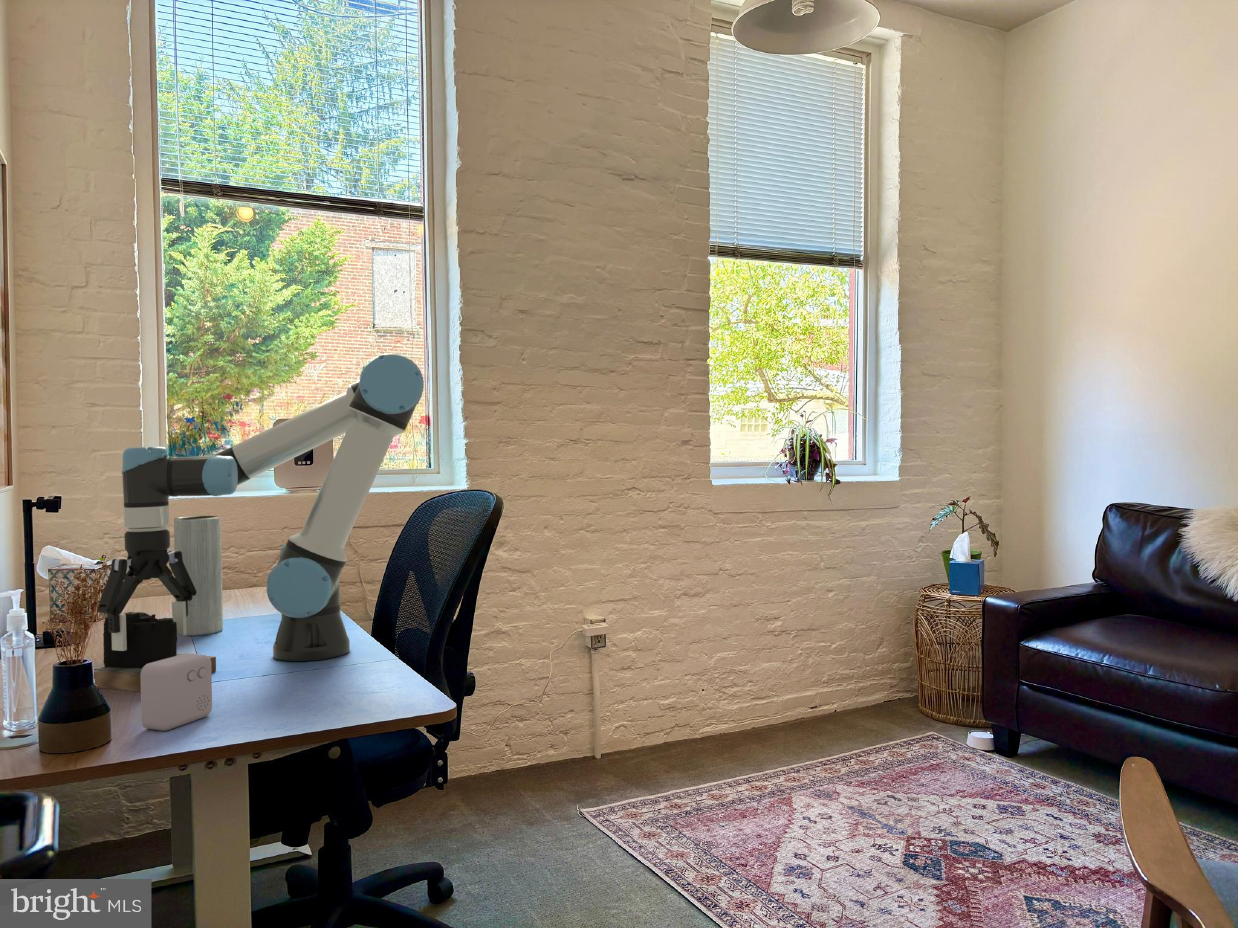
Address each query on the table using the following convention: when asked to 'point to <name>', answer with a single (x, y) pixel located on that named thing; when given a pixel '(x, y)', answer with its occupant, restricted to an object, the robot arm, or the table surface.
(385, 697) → the table surface
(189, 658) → the electronic device
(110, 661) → the camera
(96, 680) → the stand
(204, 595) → the vase
